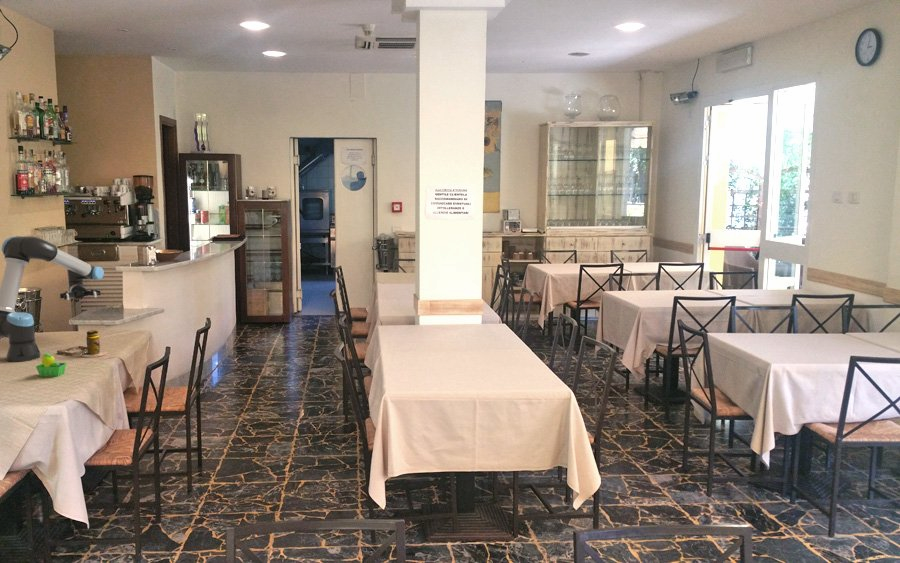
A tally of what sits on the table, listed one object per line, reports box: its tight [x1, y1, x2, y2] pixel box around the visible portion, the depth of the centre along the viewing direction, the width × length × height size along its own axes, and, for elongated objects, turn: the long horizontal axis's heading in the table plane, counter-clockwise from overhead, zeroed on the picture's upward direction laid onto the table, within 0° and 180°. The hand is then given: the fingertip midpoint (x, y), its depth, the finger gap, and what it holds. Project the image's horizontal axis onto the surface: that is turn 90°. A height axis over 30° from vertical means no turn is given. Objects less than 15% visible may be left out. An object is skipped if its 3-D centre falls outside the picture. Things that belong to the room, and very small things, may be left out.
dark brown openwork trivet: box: [56, 345, 87, 357], centre depth 399 cm, size 13×12×2 cm
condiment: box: [81, 329, 102, 356], centre depth 391 cm, size 7×8×12 cm
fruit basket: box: [35, 353, 67, 378], centre depth 352 cm, size 11×9×11 cm
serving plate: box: [81, 350, 108, 358], centre depth 392 cm, size 12×12×1 cm
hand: (82, 296), depth 409 cm, fingers open, 13 cm apart
